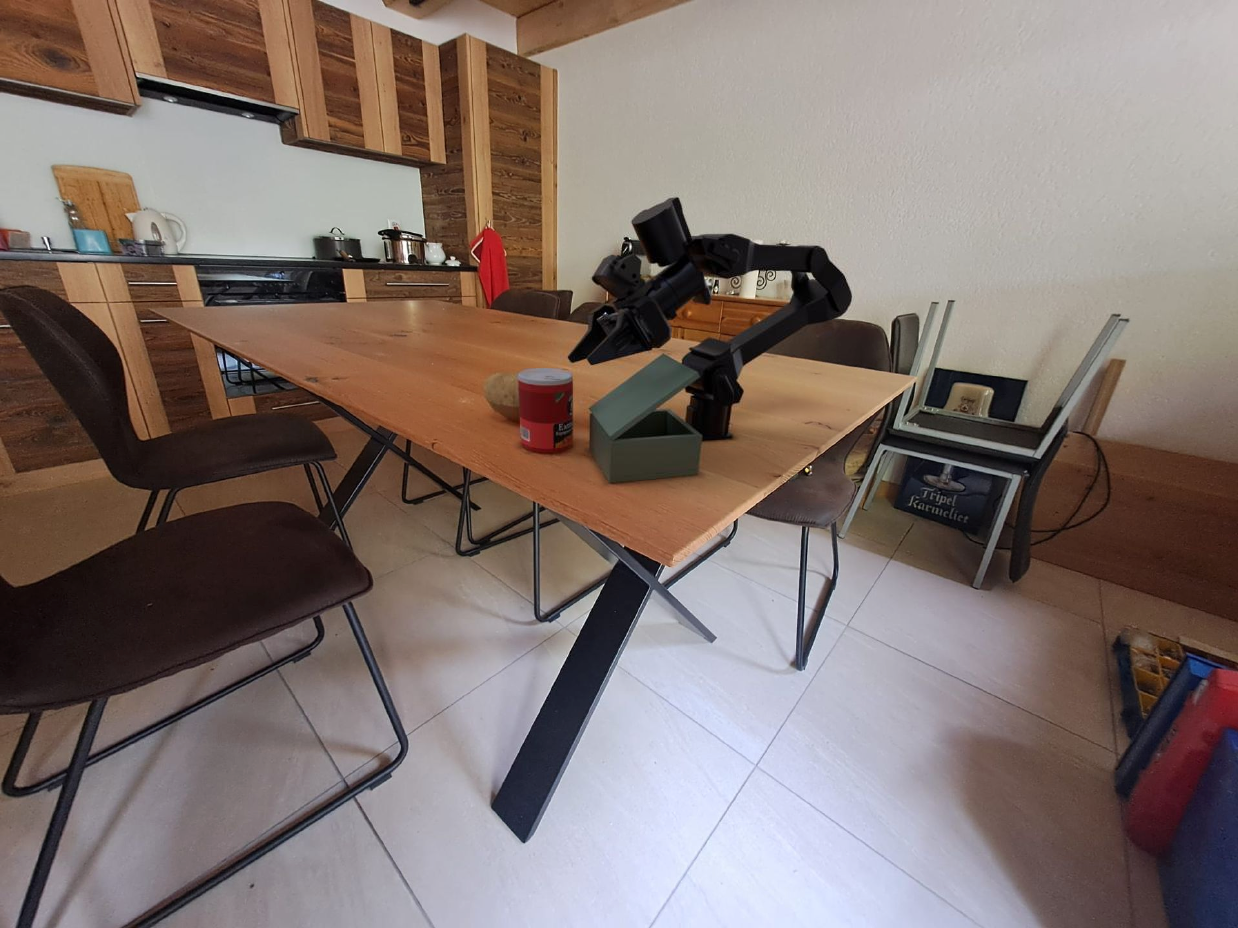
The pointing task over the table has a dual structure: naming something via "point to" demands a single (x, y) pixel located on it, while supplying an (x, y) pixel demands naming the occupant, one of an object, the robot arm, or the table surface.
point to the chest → (647, 448)
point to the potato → (503, 394)
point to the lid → (642, 394)
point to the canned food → (546, 409)
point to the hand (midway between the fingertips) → (578, 361)
